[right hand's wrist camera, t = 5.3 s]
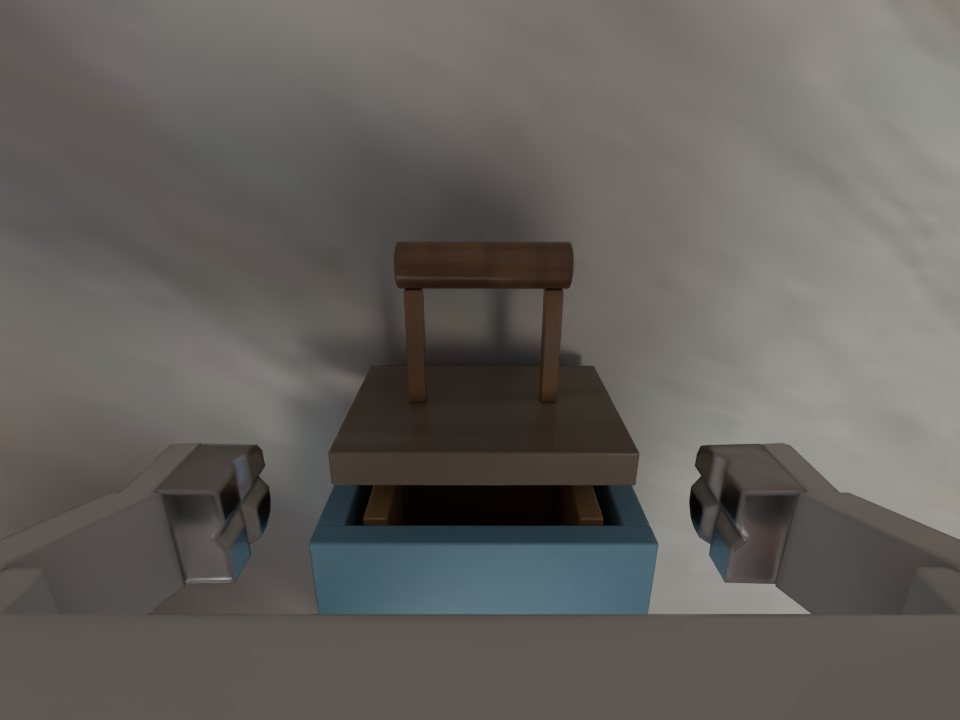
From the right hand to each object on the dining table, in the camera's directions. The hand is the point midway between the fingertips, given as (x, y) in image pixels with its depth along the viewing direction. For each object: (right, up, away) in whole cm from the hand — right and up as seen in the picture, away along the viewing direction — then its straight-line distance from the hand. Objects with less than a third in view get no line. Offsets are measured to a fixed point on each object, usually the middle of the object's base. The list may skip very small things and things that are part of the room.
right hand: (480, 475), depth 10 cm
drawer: (0, -1, +14) cm, 14 cm away
